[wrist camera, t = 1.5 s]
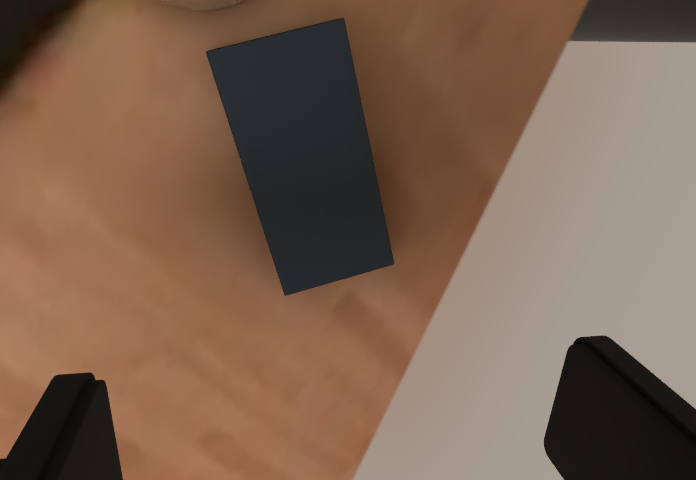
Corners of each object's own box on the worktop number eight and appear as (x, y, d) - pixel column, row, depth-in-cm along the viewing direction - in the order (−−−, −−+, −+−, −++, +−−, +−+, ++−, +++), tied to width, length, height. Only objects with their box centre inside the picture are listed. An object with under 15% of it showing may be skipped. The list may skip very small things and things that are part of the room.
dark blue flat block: (337, 19, 23) (344, 17, 22) (386, 251, 29) (394, 264, 27) (208, 50, 23) (205, 51, 21) (282, 281, 28) (284, 296, 27)
